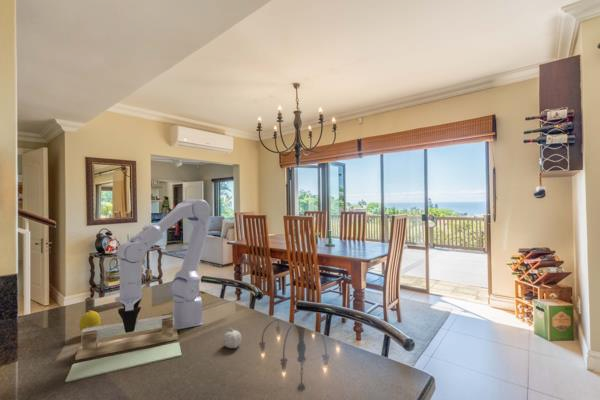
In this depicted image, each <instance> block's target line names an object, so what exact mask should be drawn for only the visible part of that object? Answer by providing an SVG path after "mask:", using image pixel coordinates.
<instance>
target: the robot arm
mask: <svg viewBox="0 0 600 400" xmlns="http://www.w3.org/2000/svg"><path fill="white" fill-rule="evenodd" d="M211 211H212V209H211V206H210V205H209V203H208V201H206V200H205V199H204V198H203V199H202V198H201V199H188V198H187V199H184V200H182V201H181V202H180V203H177V204H176V206H175V207H174V208H173V209H172V210H171V211H169V213H167V214H166V215H165V216H164V217H163V218H162V219H160V220H159V221H158V222H157V223H156V224H148V225H144V226H143V227H142V230H141V231H140V232H138V233H137V234H136V235H134V236H131V237H130V238H129V241H124V242H122V243H120V245H119V246H118V248H117V250H116V251H115V255H116V257H117V258H118V259H119V296H116V297H115V298H114V302H120V303H121V305H122V308H118V310H117V312H118V315H119V316H120V318H121V321H122V322H123V324H124V329H125V332H126V333H128V332H133V331H134V329H135V324H136V320H138V315H139V314H140V311H141V309H142V307H141V306H140V304H141V301H142V298H143V294H142V260H143V259H144V258H145V256H146V253H147V251H148V250H150V249H151V248H152V247H154V245H155V244H157V243H158V242H159V241H160V240H161V239H163V236H164V232H166V231H167V230H168V229H170V228H171V227H173V226H174V225H175V224H176V223H178V222H179V221H180V220H182V219H187V220H188V221H189V223H190V224H191V225H192V231H191V235H190V237H189V241H188V245H187V247H186V251H185V255H184V259H183V261H182V264H181V269H179V271H177V272H176V273H175V275H174V278H173V279H172V281H171V282H170V284H169V289H168V290H169V293H170V294H171V295H172V301H173V306H172V307H173V308H172V309H173V311H172V312H173V313H172V314H174V325H173V329H177V330H183V329H188V328H192V327H198V326H202V325H203V303H202V302H203V301H202V297H201V296H199V293H200V291H201V290H200V287H201V286H200V282H201V278H200V276H199V274H198V270H199V265H200V263H201V259H202V254H203V252H204V248H205V245H206V241H207V238H208V235H209V234H208V233H209V230H210V225H211V222H210V220H211V219H210V214H211ZM133 333H134V332H133ZM128 334H129V333H128Z"/></svg>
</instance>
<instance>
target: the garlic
mask: <svg viewBox="0 0 600 400" xmlns="http://www.w3.org/2000/svg"><path fill="white" fill-rule="evenodd" d="M241 342H242V334H241V333H240V332H239V331H238V330H236V329H233V327H229V328H228V331H227V332H225V334H224V335H223V337H222V343H223V344H224V346H225V347H226V348H228V349H236V348H237V347H238V346H239V345H240V344H241Z"/></svg>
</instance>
